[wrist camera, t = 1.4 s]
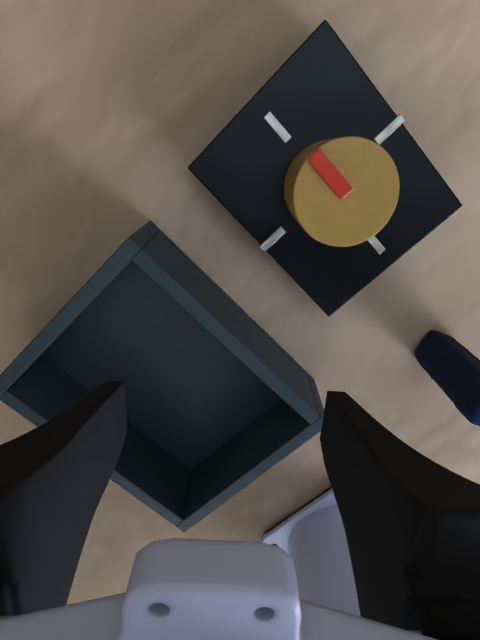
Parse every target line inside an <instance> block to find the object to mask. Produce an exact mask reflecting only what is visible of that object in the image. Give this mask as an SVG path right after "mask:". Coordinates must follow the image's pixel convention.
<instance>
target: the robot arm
mask: <svg viewBox="0 0 480 640" xmlns="http://www.w3.org/2000/svg"><path fill="white" fill-rule="evenodd" d="M126 432H127V415H126V398H125V381H109V380H107V381H106V382H104V383H103V384H101V385H100V386H98V387H97V388H96V389H94V390H93V391H92V392H90V393H89V394H88V395H86V396H85V397H83V398H82V399H81V400H79V401H78V402H76V403H75V404H74V405H72V406H71V407H69V408H68V409H66V410H65V411H63V412H62V413H60V414H58V415H57V416H55V417H54V418H52V419H51V420H49V421H47V422H46V423H44V424H42V425H41V426H39V427H37V428H35V429H33V430H31V431H30V432H28V433H26V434H24V435H22V436H20V437H18V438H16V439H13V440H11V441H9V442H6V443H4V444H2V445H0V640H480V485H479V484H477V483H475V482H473V481H470V480H468V479H466V478H464V477H462V476H460V475H458V474H456V473H454V472H452V471H450V470H448V469H446V468H444V467H443V466H441V465H439V464H437V463H435V462H433V461H432V460H430V459H428V458H427V457H425V456H423V455H422V454H420V453H419V452H417V451H416V450H414V449H413V448H411V447H410V446H408V445H407V444H405V443H404V442H403V441H401V440H400V439H399V438H397V437H396V436H395V435H393V434H392V433H391V432H390V431H388V430H387V429H386V428H385V427H383V426H382V425H381V424H380V423H379V422H378V421H376V420H375V419H374V418H373V417H372V416H371V415H370V414H369V413H367V412H366V411H365V410H364V409H363V408H362V407H361V406H360V405H359V404H358V403H357V402H355V401H354V400H353V399H352V398H351V397H350V396H349V395H348V394H347V393H345V392H337V391H327V397H326V404H325V410H324V416H323V423H322V429H321V435H320V441H321V447H322V453H323V459H324V464H325V467H326V471H327V474H328V477H329V480H330V484H331V487H332V488H331V489H330V490H329V491H327V492H326V493H324V494H323V495H321V496H320V497H318V498H317V499H315V500H314V501H313V502H311V503H310V504H308V505H307V506H305V507H304V508H302V509H301V510H299V511H298V512H297V513H295V514H294V515H292V516H291V517H289V518H288V519H286V520H285V521H284V522H282V523H281V524H279V525H278V526H276V527H275V528H273V529H272V530H270V531H269V532H268V533H266V534H265V535H264V536H263V537H262V542H249V541H224V540H200V539H175V538H172V539H165V540H159V541H153V542H151V543H150V544H148V545H147V546H145V547H144V548H142V549H141V550H140V551H138V552H137V555H136V558H135V561H134V564H133V567H132V571H131V575H130V579H129V582H128V586H127V590H126V593H121V594H117V595H112V596H107V597H102V598H98V599H93V600H88V601H83V602H79V603H74V604H69V605H66V603H67V600H68V596H69V593H70V589H71V586H72V582H73V579H74V575H75V572H76V569H77V565H78V562H79V559H80V555H81V552H82V549H83V546H84V543H85V539H86V536H87V533H88V530H89V527H90V524H91V521H92V518H93V516H94V513H95V511H96V508H97V506H98V504H99V501H100V499H101V497H102V495H103V492H104V490H105V488H106V486H107V483H108V481H109V479H110V477H111V474H112V472H113V470H114V468H115V465H116V463H117V461H118V458H119V456H120V453H121V450H122V447H123V443H124V440H125V436H126ZM273 543H275V544H273Z"/></svg>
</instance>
